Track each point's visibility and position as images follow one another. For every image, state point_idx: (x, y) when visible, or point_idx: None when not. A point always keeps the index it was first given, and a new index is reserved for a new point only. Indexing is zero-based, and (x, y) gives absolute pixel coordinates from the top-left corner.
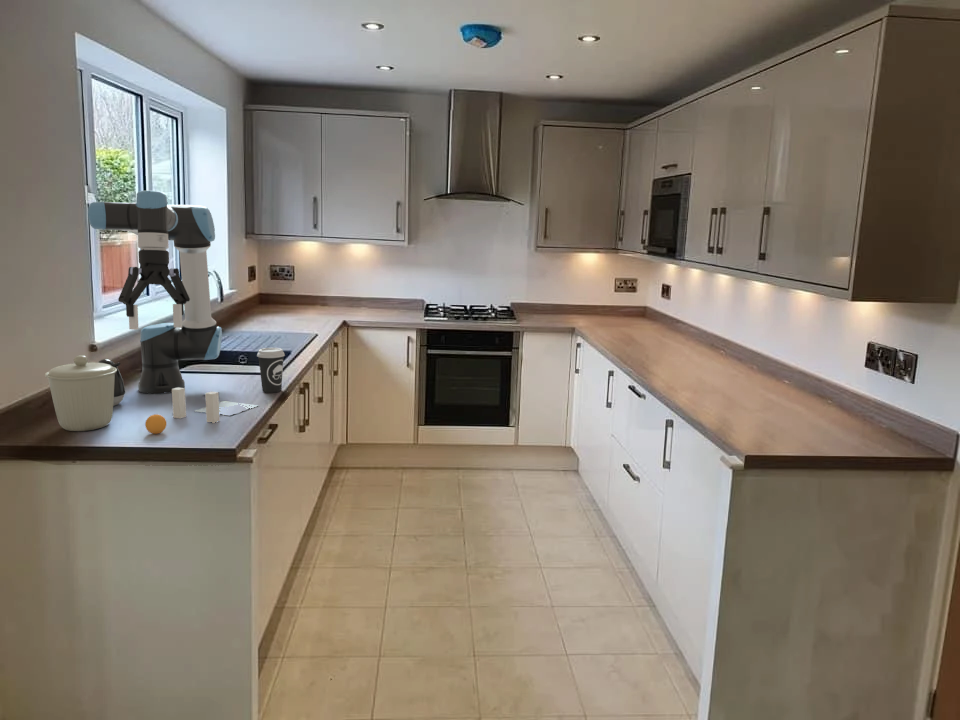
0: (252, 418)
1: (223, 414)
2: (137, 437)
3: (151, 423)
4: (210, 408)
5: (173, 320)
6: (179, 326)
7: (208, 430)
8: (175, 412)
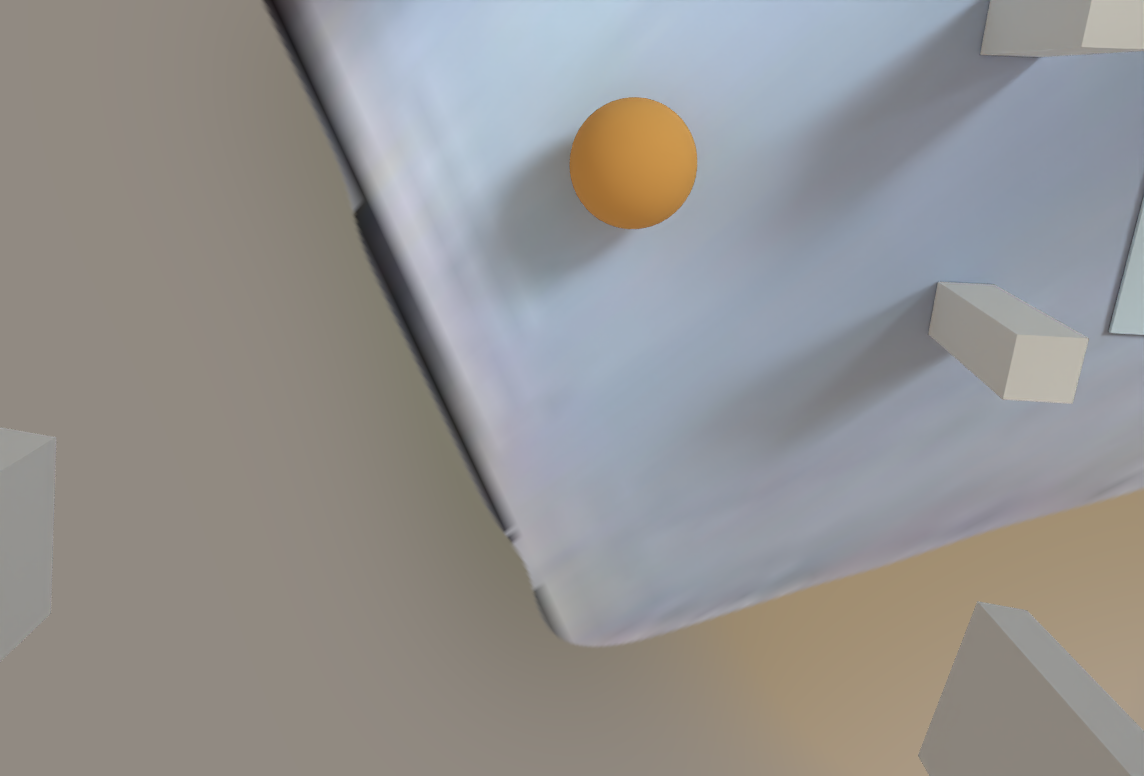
0: (1092, 472)
1: (1134, 271)
2: (527, 110)
3: (574, 184)
4: (966, 341)
5: (1053, 684)
6: (929, 757)
7: (787, 392)
8: (1004, 9)
